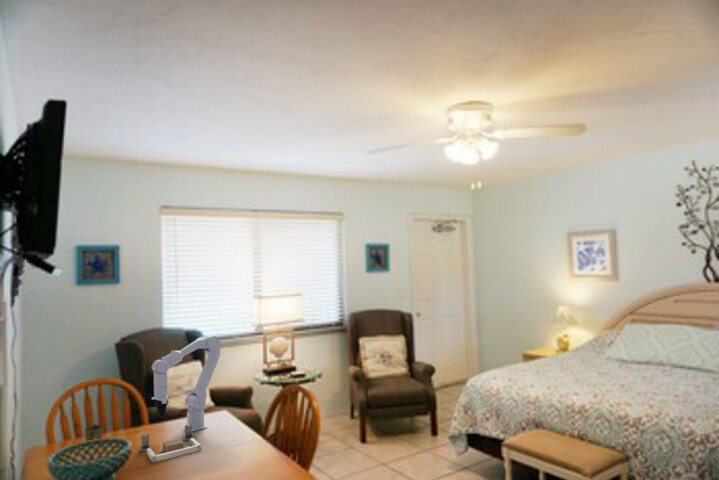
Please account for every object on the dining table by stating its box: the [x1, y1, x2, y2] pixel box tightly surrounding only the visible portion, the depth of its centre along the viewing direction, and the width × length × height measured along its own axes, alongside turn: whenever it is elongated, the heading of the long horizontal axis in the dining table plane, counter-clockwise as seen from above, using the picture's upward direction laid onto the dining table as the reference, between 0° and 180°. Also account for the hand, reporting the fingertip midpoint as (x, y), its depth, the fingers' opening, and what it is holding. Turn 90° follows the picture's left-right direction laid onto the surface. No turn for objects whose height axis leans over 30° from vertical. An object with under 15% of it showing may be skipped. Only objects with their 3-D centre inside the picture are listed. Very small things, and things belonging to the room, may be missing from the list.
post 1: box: [138, 433, 153, 453], centre depth 202 cm, size 5×5×6 cm
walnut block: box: [162, 437, 185, 453], centre depth 199 cm, size 7×7×4 cm
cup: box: [84, 423, 104, 442], centre depth 211 cm, size 8×7×8 cm
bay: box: [146, 438, 202, 463], centre depth 197 cm, size 12×19×2 cm, turn 124°
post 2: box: [182, 424, 196, 442], centre depth 212 cm, size 5×5×6 cm
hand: (161, 416), depth 217 cm, fingers closed
